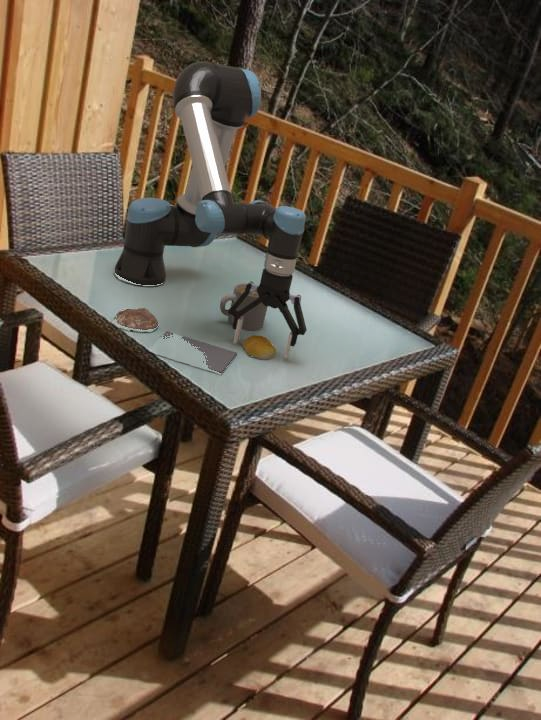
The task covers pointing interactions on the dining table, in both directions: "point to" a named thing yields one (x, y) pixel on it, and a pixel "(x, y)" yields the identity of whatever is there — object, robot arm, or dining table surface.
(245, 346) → the bread roll
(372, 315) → the dining table surface
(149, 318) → the shell
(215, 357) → the mat
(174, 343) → the dining table surface
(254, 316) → the coffee mug
